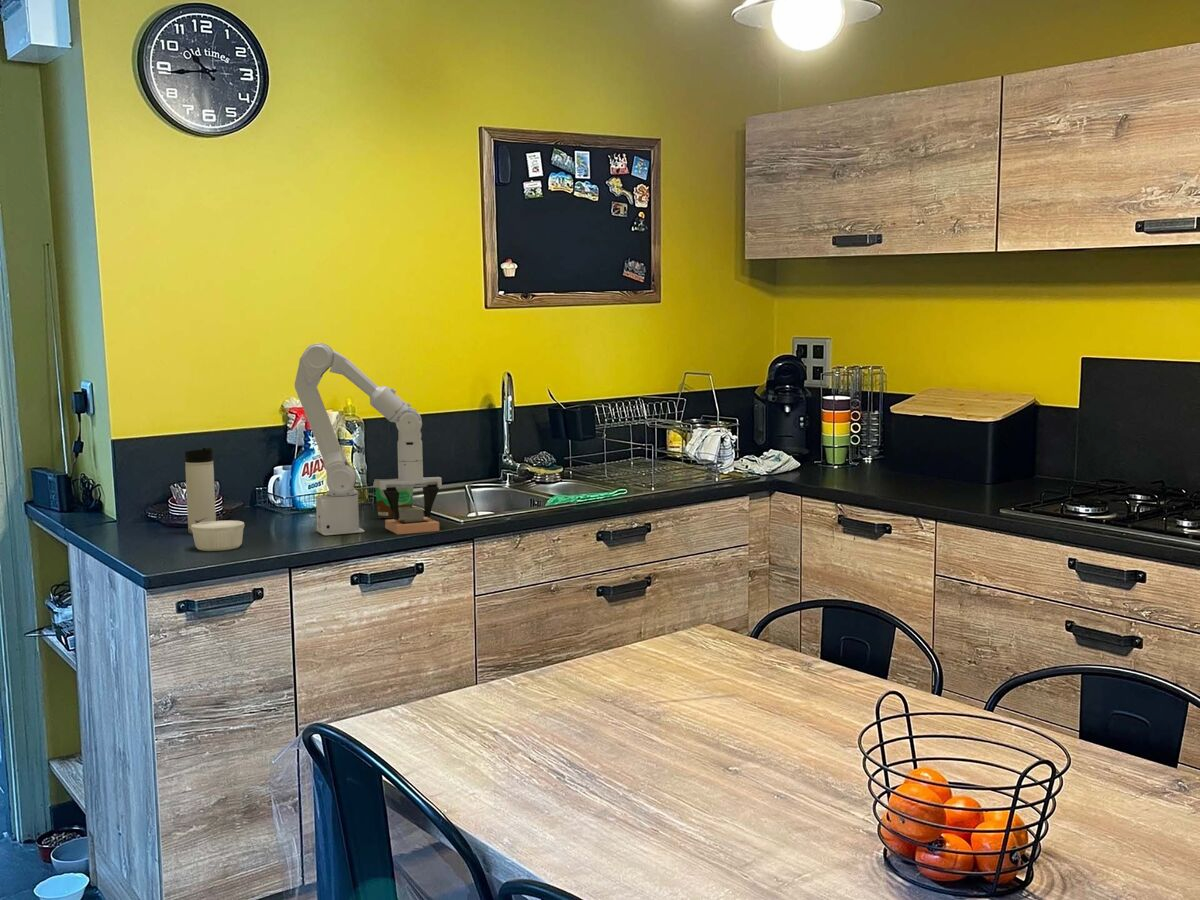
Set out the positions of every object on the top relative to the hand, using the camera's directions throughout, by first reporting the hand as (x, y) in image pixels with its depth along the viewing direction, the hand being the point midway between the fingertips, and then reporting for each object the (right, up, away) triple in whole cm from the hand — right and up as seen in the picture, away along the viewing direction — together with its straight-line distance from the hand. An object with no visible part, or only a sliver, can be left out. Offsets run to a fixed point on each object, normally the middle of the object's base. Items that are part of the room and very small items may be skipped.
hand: (411, 518), depth 279 cm
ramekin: (-39, -6, -20) cm, 44 cm away
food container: (-6, -1, +20) cm, 21 cm away
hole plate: (0, -3, 0) cm, 3 cm away
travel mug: (-49, -4, 0) cm, 49 cm away
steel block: (0, -3, +1) cm, 3 cm away
